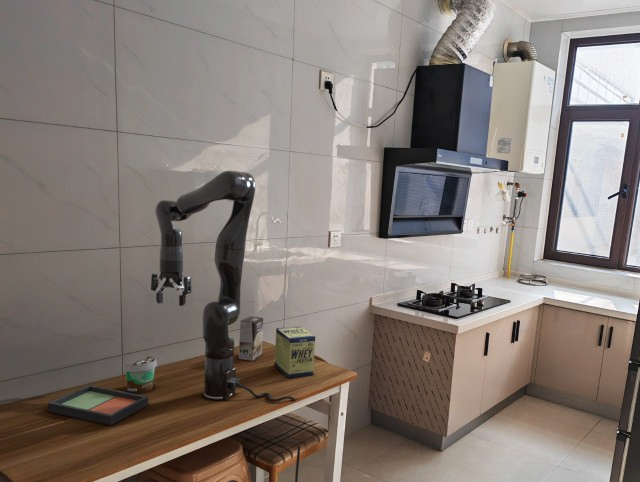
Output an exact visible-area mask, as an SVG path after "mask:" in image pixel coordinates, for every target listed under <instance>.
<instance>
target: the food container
mask: <svg viewBox="0 0 640 482" xmlns="http://www.w3.org/2000/svg"><path fill="white" fill-rule="evenodd" d="M157 366H158V362H157V359H156V357H155V356H154V355H151V354H147V357H146V358H144V359H140V360H137V361H136V362H134V363H133V364H131V365H130V364H125V367H124V372H125V374H126V388H127V393H132V394H142V393H146V392H150V391H151V390H153V388H154V381H155V380H154V379H155V369H156V367H157Z"/></svg>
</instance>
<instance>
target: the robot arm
mask: <svg viewBox="0 0 640 482" xmlns="http://www.w3.org/2000/svg"><path fill="white" fill-rule="evenodd" d="M255 194H256V181H255V177H254V176H253V175H252V174H251V173H249V172H247V171H236V170H224V171H222V172H220V173H219V174H217V175H216V176H214V177H213V178H212V179H211V180H209V181H207V182H206V183H205V184H203V185H202V186H200V187H197V188H196V189H194V190H191V191H188V192H186V193H184V194H182V195H180V196H179V197H178V198H177V199H176V200H168V199H162V200H159V201H158V202H157V203H156V205H155V209H154V215H155V217H156V221H157V224H158V225H157V226H158V228H159V233H160V247H159V272H160V273H158V272H156V273H151V279H150V290H151V291H152V292H153V291H154V292H155V301H156V303H157V304H159V305H160V304H163V303H164V290H165V289H166V288H171V289H175V291H177V292H178V294H179V295H178V306H179V307H183V306H185V305H186V301H187V295H189V294H192V277H191V276H189V275H188V276H183V271H184V248H183V244H184V243H183V239H184V238H183V237H184V236H183V231H182V230H181V229H180V228H177V227H174V224H173V222H182V221H186V220H188V219H189V218H190V217H191V216H192V215H194V214H197V213H200V212H202V211H205V210H206V209H207V208H208V207H209V206H210V205H211V204H212V203H213V202H217V201H224V200H226V201H231V202H233V203H232V208H231V212H230V216H229V218H228V219H227V221H226V222H225V224H224V226H223V227H222V228H221V230H220V232H219V233H218V235H217V237H216V241H215V247H214V248H215V249H214V265H215V268H216V272H217V274H218V277H219V293H218V297H217V299H216V300H212V301H210V302H208V303H207V304H206V305H205V306H204V308H203V311H202V338H203V340H204V343H205V345H204V346H205V347H204V379H203V381H204V382H203V384H204V385H203V386H204V387H203V388H204V389H203V397H204V398H205V399H206V400H207V399H208V400H211V401H227V400H229V399H230V398H232V397H233V396H235V395H236V389H237V388H238V387H239V388H241V389H244V390H246V391H248V392H249V393H250V394H251V395H252V396H253V397H255V398H257V399H258V398H262V397H265V396H267V400H268V401H270V402H273V403H274V402H280V401H284V400H288V399H289V400H292V401H293V402H297V399H296V398H295V397H293V396H291V395H285V396H281V397H277V398H272V397H271V394H270V393H269V392H263V393H260V394H257V393H255V392H254V391H253V390H252V389H251V388H249V387H247V386H245V385H244V384H241V378H239V377H237V368H236V367H234V365H235V338H234V336H231V335H230V334H229V326H231V325H233V324H234V323H236V322H237V321H238V319H239V317H240V314H241V286H242V278H243V268H244V261H245V255H246V245H247V244H246V243H247V236H248V229H249V222H250V216H251V212H252V207H253V203H254V199H255ZM159 281H160V282H159ZM300 455H301V445H298V447H297V453H296V464H295V477H294V482H298V481H299V469H300V468H299V467H300V457H301V456H300Z"/></svg>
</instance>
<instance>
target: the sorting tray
mask: <svg viewBox="0 0 640 482" xmlns="http://www.w3.org/2000/svg"><path fill="white" fill-rule="evenodd" d="M147 406H149V396H147V395H142V394H138V393H128V391H122V390H117V389H113V388H107V387H104V386H103V387H101V386H97V385H91V384H88V385H86V386H84V387H82V388H79V389H77V390H75V391H73V392H70V393H68V394H66V395H63V396H60V397H59V398H56V399H54V400H51V401H49V402H48V403H47V410H48V413H53V414H56V415H57V414H58V415H61V416H62V415H63V416H66V417H70V418H71V417H72V418H76V419H79V420H84V421H90V422H95V423H99V424H102V425H103V424H104V425H107V426H108V425H109V426H112V425H114V424H116V423H118V422H120V421H121V420H123V419H125V418H127V417H129V416H131V415H132V414H135V413H136V412H138V411H140V410H142V409H143V408H145V407H147Z"/></svg>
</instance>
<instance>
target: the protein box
mask: <svg viewBox="0 0 640 482" xmlns="http://www.w3.org/2000/svg"><path fill="white" fill-rule="evenodd" d="M315 349H316V336H315V335H314V334H312V333H311V332H309V331H308V330H307V329H305V328H303V327H302V326H288V327H276V329H275V346H274V362H273V363H274V366H275V367H276V368H277V369H278V370H279V371H280V372H281V373H283V375H285V377H287V378H288V379H289V378H295V377H296V378H297V377H305V376H313V375H314V365H315V353H316V352H315V351H316V350H315Z"/></svg>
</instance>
